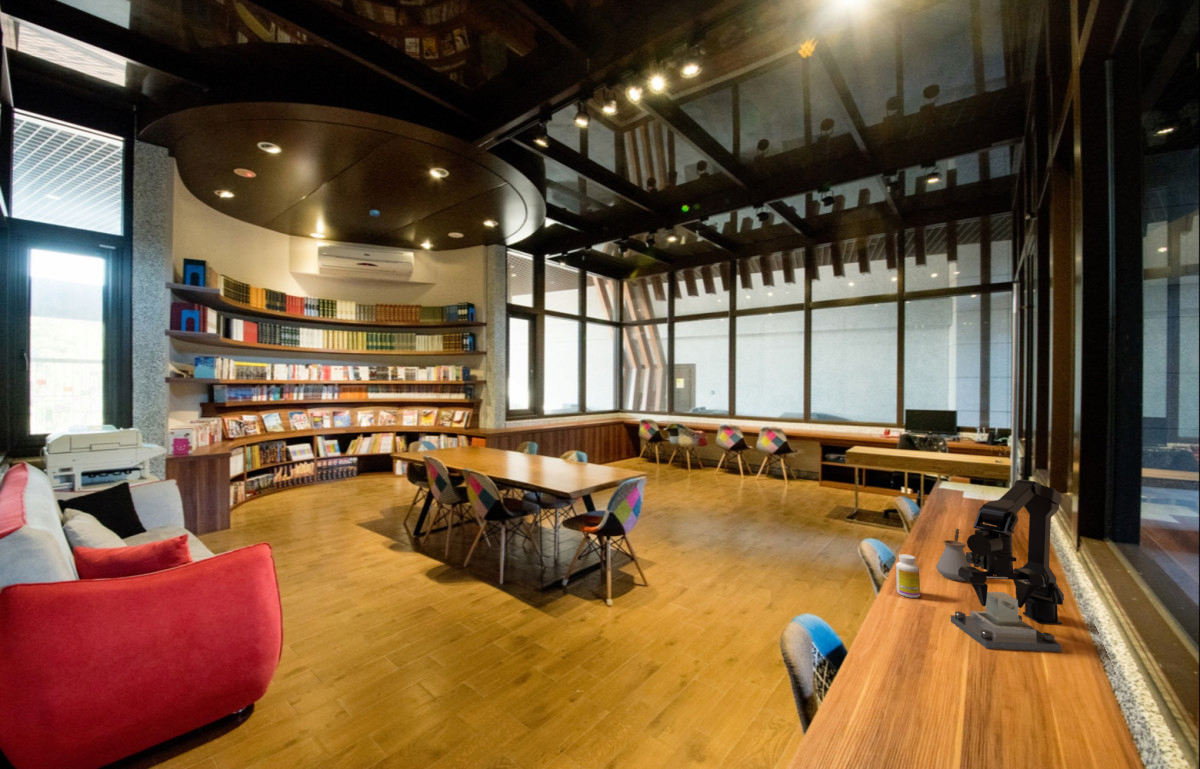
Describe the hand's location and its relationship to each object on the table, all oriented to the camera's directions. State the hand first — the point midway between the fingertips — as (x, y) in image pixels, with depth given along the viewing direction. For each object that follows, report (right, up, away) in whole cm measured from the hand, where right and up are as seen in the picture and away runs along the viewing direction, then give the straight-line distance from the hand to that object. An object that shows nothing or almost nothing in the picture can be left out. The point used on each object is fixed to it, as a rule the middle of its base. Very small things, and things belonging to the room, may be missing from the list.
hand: (1001, 606), depth 130 cm
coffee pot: (+23, -10, +46) cm, 52 cm away
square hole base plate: (0, -8, 0) cm, 8 cm away
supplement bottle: (-8, -10, +28) cm, 30 cm away
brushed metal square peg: (0, -6, 0) cm, 6 cm away
